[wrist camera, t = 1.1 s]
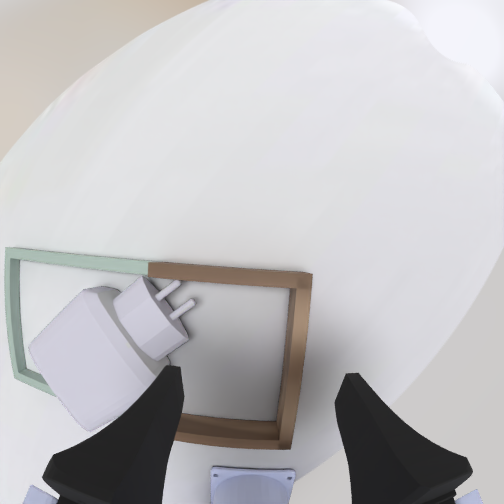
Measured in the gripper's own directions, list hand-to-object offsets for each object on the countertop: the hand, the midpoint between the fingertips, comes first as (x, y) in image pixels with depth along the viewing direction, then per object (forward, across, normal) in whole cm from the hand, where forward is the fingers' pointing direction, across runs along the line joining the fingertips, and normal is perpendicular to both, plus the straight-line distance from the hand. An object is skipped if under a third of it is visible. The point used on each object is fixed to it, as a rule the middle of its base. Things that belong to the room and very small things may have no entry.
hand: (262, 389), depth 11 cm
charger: (+9, +11, +6) cm, 15 cm away
